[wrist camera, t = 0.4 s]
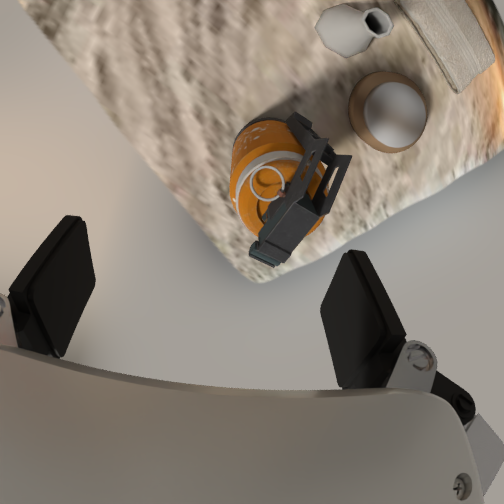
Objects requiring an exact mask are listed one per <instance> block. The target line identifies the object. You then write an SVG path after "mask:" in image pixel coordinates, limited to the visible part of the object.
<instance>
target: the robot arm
mask: <svg viewBox="0 0 504 504" xmlns="http://www.w3.org/2000/svg"><path fill="white" fill-rule="evenodd" d="M95 282H96V279H95V274H94V269H93V263H92V259H91V252H90V247H89V241H88V234H87V227H86V223H85V221H82V218H81V217H80V216H71V215H66V216H65V217H64V218H63V219H62V220H61V221H60V222H59V224H58V225H57V226H56V227H55V228H54V229H53V231H52V232H51V233H50V234H49V235H48V237H47V238H46V239H45V240H44V242H43V243H42V244H41V245H40V247H39V248H38V249H37V250H36V252H35V253H34V254H33V256H32V257H31V258H30V260H29V261H28V262H27V264H26V265H25V266H24V268H23V269H22V271H21V272H20V273H19V275H18V276H17V278H16V279H15V281H14V282H13V283H12V285H11V286H10V288H9V292H10V294H9V295H8V297H6V296H5V295H3V294H1V293H0V504H484V499H483V496H484V495H485V493H486V492H487V490H488V488H489V486H490V485H491V483H492V481H493V480H494V478H495V476H496V474H497V472H498V471H499V469H500V467H501V465H502V463H503V461H504V444H503V442H502V441H501V439H500V438H499V437H498V436H497V435H496V433H495V432H494V431H493V430H492V429H491V427H490V426H489V425H488V424H487V423H486V421H485V420H484V419H483V418H482V417H481V415H480V414H477V415H475V410H476V409H475V403H474V401H473V398H472V397H471V396H470V394H469V393H468V392H467V391H465V390H464V389H462V388H461V387H460V386H458V385H457V384H455V383H454V382H452V381H451V380H449V379H448V378H447V377H445V376H444V375H442V374H441V373H439V372H438V371H437V370H436V369H437V359H436V356H435V354H434V352H433V351H432V350H431V349H430V348H429V347H428V346H427V345H426V344H424V343H422V342H420V341H415V340H412V341H408V342H406V339H405V336H406V332H405V330H404V328H403V326H402V323H401V322H400V319H399V317H398V315H397V313H396V311H395V309H394V306H393V304H392V302H391V300H390V298H389V296H388V294H387V292H386V290H385V288H384V286H383V284H382V282H381V280H380V278H379V276H378V275H377V273H376V271H375V269H374V267H373V265H372V263H371V261H370V259H369V258H368V256H367V254H366V252H364V251H358V250H349V251H348V252H347V253H344V254H343V256H342V258H341V260H340V263H339V265H338V267H337V270H336V272H335V275H334V277H333V279H332V282H331V284H330V286H329V288H328V291H327V293H326V295H325V298H324V300H323V302H322V304H321V308H320V313H321V317H322V321H323V325H324V329H325V333H326V337H327V341H328V345H329V349H330V353H331V357H332V361H333V366H334V370H335V374H336V378H337V383H338V385H339V387H342V389H343V390H260V389H239V388H226V387H214V386H204V385H195V384H186V383H178V382H171V381H163V380H157V379H151V378H144V377H139V376H132V375H127V374H122V373H117V372H112V371H107V370H103V369H98V368H94V367H89V366H85V365H81V364H77V363H73V362H69V361H65V360H61V359H60V357H63V356H64V355H65V353H66V350H67V348H68V345H69V343H70V340H71V338H72V335H73V333H74V331H75V328H76V326H77V324H78V322H79V319H80V317H81V315H82V313H83V310H84V308H85V306H86V304H87V302H88V300H89V298H90V295H91V293H92V291H93V289H94V287H95Z"/></svg>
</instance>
